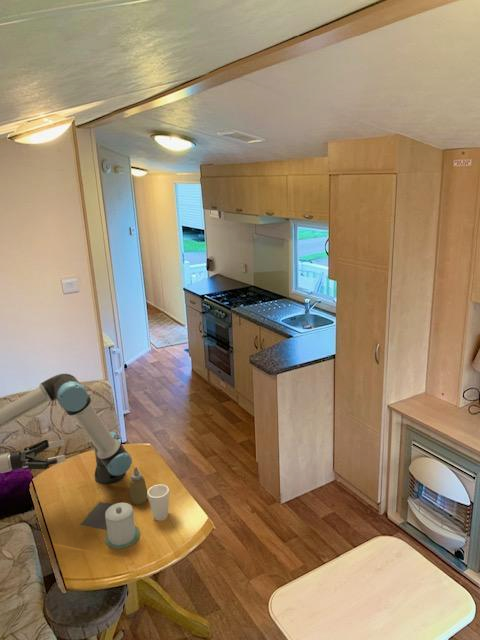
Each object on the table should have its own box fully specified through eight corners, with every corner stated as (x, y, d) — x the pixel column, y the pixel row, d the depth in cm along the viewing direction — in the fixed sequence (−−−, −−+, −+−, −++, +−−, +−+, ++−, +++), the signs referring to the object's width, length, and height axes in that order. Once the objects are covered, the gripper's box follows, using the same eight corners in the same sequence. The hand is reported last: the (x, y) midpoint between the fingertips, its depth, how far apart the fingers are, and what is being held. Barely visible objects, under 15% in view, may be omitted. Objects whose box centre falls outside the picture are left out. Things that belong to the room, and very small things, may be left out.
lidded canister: (117, 524, 213) (113, 496, 209) (140, 528, 210) (136, 500, 206) (103, 542, 203) (99, 513, 199) (127, 546, 200) (123, 518, 196)
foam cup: (167, 524, 213) (164, 498, 210) (146, 522, 215) (144, 496, 211) (174, 509, 222) (171, 485, 218) (154, 507, 224) (152, 483, 220)
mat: (99, 502, 229) (99, 501, 229) (126, 506, 226) (126, 506, 225) (79, 525, 215) (79, 524, 215) (108, 530, 211) (108, 530, 211)
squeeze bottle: (136, 509, 224) (132, 475, 218) (127, 501, 229) (123, 467, 224) (151, 501, 229) (148, 467, 223) (142, 493, 234) (138, 460, 229)
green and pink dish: (116, 523, 215) (115, 514, 214) (145, 528, 211) (144, 519, 210) (99, 546, 202) (97, 536, 201) (129, 552, 199) (128, 542, 197)
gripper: (14, 454, 217) (65, 443, 223) (10, 486, 194) (67, 473, 201) (11, 438, 214) (62, 428, 221) (7, 469, 192) (64, 457, 199)
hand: (64, 449), depth 211 cm, fingers open, 13 cm apart
